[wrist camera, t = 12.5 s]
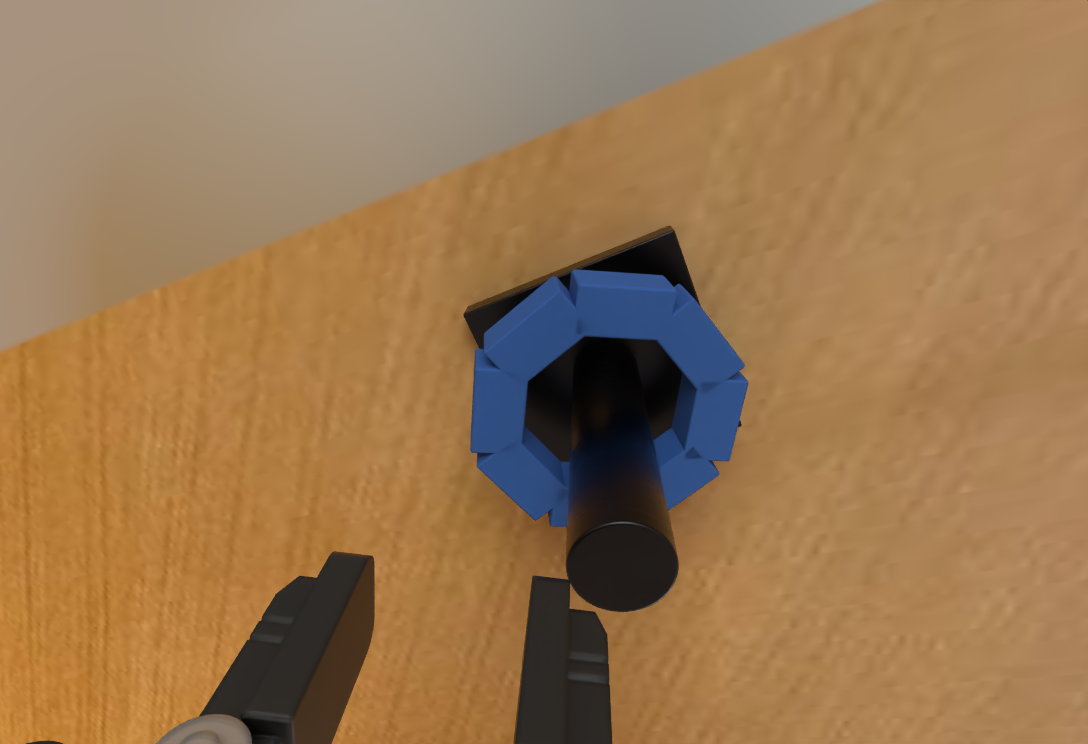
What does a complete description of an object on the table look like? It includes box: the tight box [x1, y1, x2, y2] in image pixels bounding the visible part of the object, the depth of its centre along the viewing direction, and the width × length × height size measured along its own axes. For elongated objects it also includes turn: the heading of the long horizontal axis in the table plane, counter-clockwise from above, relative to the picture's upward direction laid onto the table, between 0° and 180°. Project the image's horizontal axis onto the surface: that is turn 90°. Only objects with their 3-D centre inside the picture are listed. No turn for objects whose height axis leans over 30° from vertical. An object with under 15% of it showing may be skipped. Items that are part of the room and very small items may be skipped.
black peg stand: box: [463, 226, 741, 612], centre depth 19 cm, size 8×8×12 cm
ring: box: [471, 269, 748, 527], centre depth 21 cm, size 8×8×2 cm
